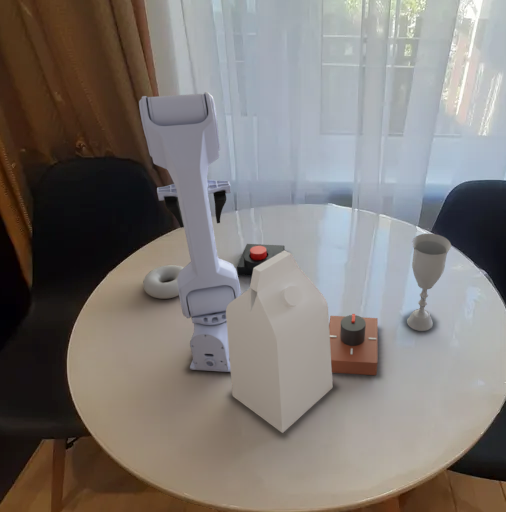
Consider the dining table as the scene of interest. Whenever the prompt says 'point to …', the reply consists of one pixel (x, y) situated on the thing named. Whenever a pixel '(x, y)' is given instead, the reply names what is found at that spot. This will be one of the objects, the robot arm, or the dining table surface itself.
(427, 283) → the chalice
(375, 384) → the dining table surface
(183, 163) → the robot arm
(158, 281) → the donut
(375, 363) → the timer panel
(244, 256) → the control box
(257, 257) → the button
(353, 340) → the timer knob
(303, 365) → the milk
